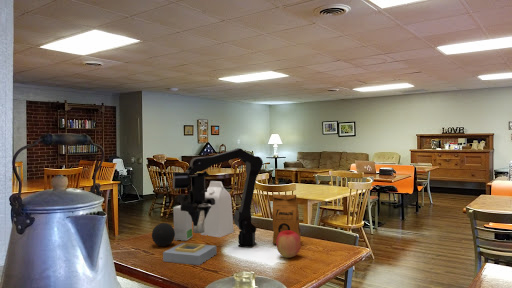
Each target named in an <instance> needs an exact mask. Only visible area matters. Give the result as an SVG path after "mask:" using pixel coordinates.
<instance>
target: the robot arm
mask: <svg viewBox="0 0 512 288" xmlns="http://www.w3.org/2000/svg"><path fill="white" fill-rule="evenodd" d="M235 159H238V160H240V161H241V162H243V163H244V164H245V172H246V173H245V174H246V176H245V181H244V185H243V186H244V187H243V192H242V197H241V201H240V207H239V208H238V210H237V209H235V210H234V216H233V224H235V226H236V227H238V230H239V231H238V233H239V234H238V245H237V246H238V247H243V248H252V247H254V246H256V245H257V244H258V243H257V241H256V231H257V229H258V228H257V227H256V226H255V225H254V224H253V223H252V212H251V208H252V201H253V197H254V191H255V187H256V183H257V177H258V176H259V174H260V173H261V170H262V168H263V166H264V162H263V160H262V157H260V156H255V155H253V154H251V153H249V152H247V151H245V150H244V149H243V148H235V149H231V150H229V151H225V152H222V153H217V154H213V155H210V156H209V155H208V156H201V157H200V156H199V157H193V158H192V159H191V160H190V163H189V167H188V168H187V169H186V170H185V172H183V171H181V172H179V171H175V172H173V177H172V189H173V190H178V189H188V187H190V189H189V191H188V194H184V193H181V194H178V195H177V202H178V203H179V204H180V205H181V206H180V205H179V206H180V208H181V211H186V212H188V213H189V214H190V215H191V218H192V225H193V224H194V226H197V224H198V220H199V216H200V212H201V210H204V220H205V218H206V216H207V214H208V212H209V210H210V208H211V206H209V205H208V204H211V205H214V204H215V199H214V198H205V192H207V189H208V188H207V189H206V177H210V176H211V175H210V174H209V173H208V172H207V169H209V168H211V167H212V166H215V165H218V164H221V163H225V162H228V161H231V160H235Z"/></svg>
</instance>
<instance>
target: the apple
mask: <svg viewBox="0 0 512 288" xmlns="http://www.w3.org/2000/svg"><path fill="white" fill-rule="evenodd" d="M275 245H276V248H277V251H278V253H279V255H280V256H282V257H284V258H287V259H289V258H293V257H295V256H297V255H298V253H299V252H300V250H301V245H302V241H300V237H299V235H298V234H297V233H295V232H294V231H290V230H286V231H281V232H280V233H279V234H278V236H277V240H276V244H275Z"/></svg>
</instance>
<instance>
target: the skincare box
mask: <svg viewBox="0 0 512 288" xmlns="http://www.w3.org/2000/svg"><path fill="white" fill-rule="evenodd" d="M180 206H181V204H180V205H176V206H174V207H173V209H172V210H173V211H172V212H173V229H174V231H175V237H174V239H173V241H177V240H181V241H182V242H187V241H188V240H189V239H192V238H193V221H192V218H191V215H189V214H188V212H186V211H181V208H180ZM181 241H180V242H181Z"/></svg>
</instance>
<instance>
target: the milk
mask: <svg viewBox="0 0 512 288" xmlns="http://www.w3.org/2000/svg"><path fill="white" fill-rule="evenodd" d="M205 198H214V199H215V204H214V205H211V204H208V205H209V206H211V208H210V210H209V212H208V214H207V216H206V218H205V232H204V233H200V236H207V235H208V236H209V237H213V238H214V237H215V238H221V237H225V236H227V235H229V234H232V233H235V232H234V231H235V230H234V229H235V228H234V219H233V218H234V216H233V207H232V197H231V194H230V192H228V191H227V188H225V187H224V185H223V182H222V181H216V180H210V182H209V185H208V187H207V192H205Z"/></svg>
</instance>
